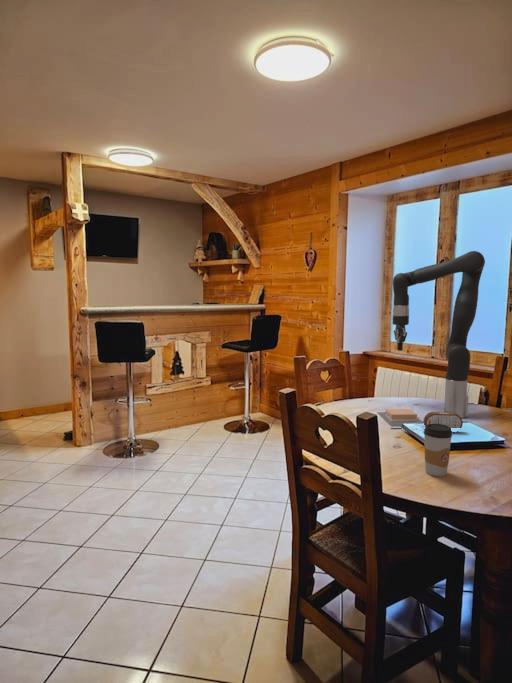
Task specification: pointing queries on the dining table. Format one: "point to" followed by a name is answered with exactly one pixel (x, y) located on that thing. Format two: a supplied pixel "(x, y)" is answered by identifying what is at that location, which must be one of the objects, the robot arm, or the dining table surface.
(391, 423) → the slate board
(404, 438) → the dining table surface
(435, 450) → the coffee cup
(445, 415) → the tin
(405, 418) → the tile
